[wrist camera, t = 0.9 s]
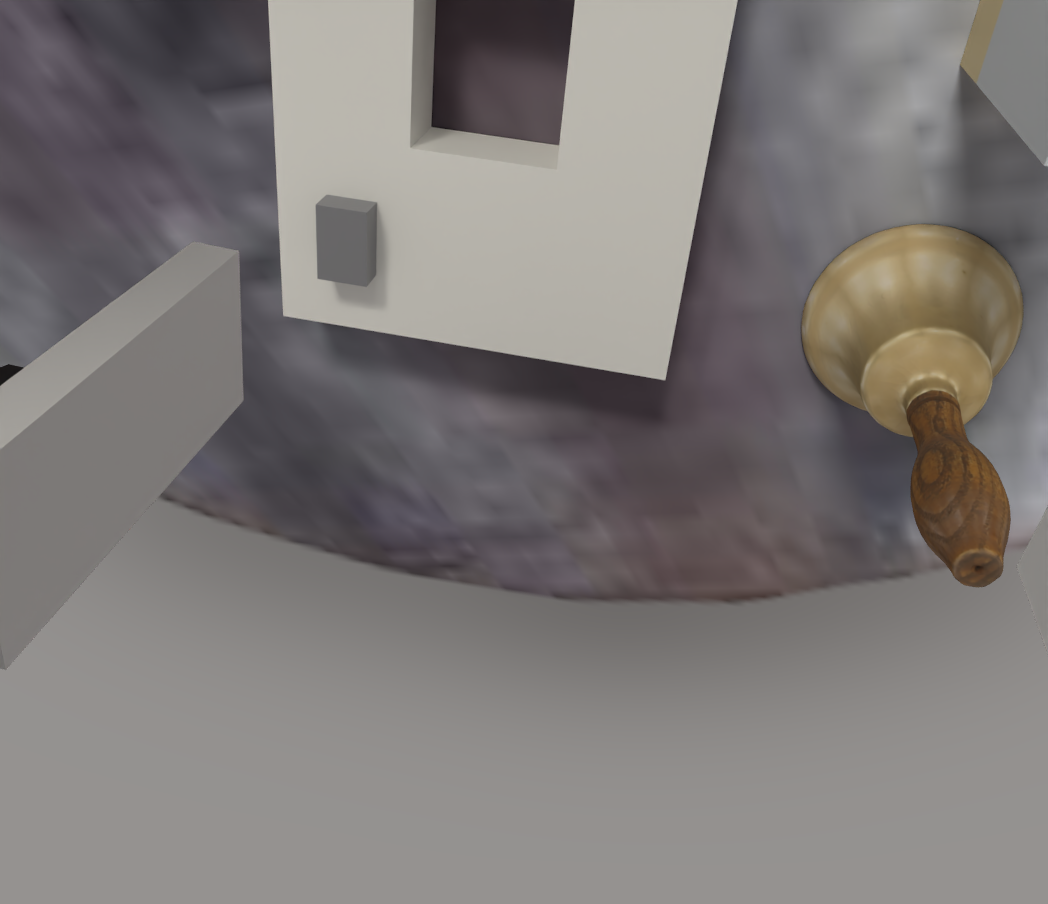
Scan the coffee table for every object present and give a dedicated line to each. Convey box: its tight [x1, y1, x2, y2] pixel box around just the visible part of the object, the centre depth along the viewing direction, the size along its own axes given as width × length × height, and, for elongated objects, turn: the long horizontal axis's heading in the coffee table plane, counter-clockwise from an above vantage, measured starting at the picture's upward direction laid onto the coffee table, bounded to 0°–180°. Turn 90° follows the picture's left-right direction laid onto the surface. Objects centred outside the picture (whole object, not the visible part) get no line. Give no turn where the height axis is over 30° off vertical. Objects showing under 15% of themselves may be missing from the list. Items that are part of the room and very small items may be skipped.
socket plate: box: [268, 0, 738, 380], centre depth 36 cm, size 22×16×4 cm
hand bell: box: [801, 224, 1023, 587], centre depth 34 cm, size 8×8×16 cm
